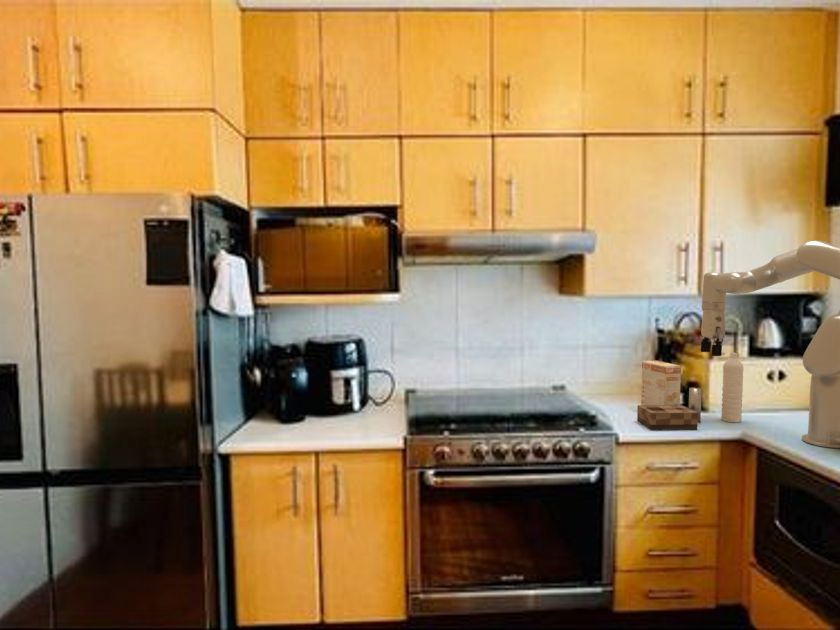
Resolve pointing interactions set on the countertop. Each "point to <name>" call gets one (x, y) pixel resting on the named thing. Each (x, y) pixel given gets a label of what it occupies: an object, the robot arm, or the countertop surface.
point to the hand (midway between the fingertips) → (710, 353)
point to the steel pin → (695, 401)
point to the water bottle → (732, 389)
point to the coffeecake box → (660, 383)
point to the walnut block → (667, 417)
